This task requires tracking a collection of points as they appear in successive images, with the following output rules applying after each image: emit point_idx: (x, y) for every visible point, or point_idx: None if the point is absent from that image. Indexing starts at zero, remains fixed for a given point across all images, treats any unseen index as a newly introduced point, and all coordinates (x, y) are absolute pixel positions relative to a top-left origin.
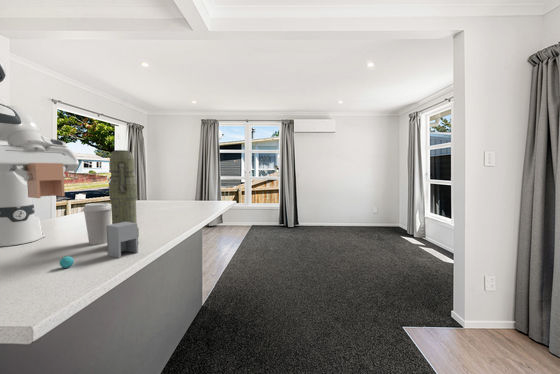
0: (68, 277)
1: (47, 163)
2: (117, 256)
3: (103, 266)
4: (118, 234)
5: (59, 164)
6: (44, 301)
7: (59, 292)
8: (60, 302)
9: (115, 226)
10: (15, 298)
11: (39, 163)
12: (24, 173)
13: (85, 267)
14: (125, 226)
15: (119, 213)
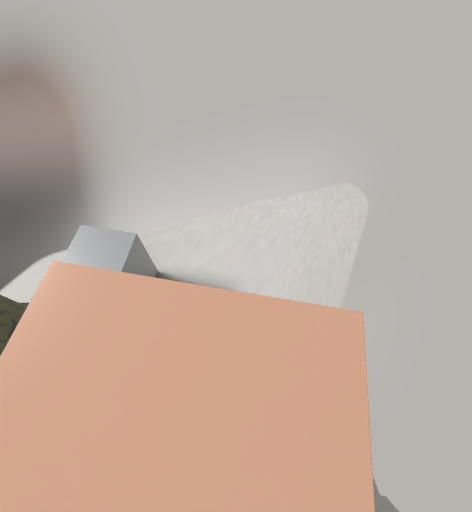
0: (265, 267)
1: (229, 290)
2: (155, 275)
3: (206, 259)
4: (141, 244)
5: (97, 275)
6: (326, 218)
7: (303, 226)
8: (317, 200)
9: (130, 245)
10: (341, 260)
11: (317, 305)
12: (375, 498)
13: (220, 285)
14: (116, 231)
15: (5, 311)
